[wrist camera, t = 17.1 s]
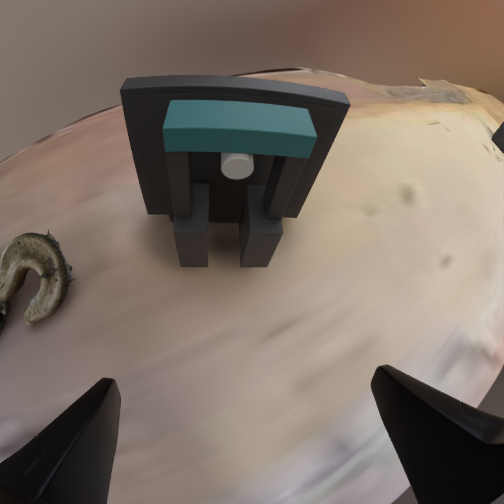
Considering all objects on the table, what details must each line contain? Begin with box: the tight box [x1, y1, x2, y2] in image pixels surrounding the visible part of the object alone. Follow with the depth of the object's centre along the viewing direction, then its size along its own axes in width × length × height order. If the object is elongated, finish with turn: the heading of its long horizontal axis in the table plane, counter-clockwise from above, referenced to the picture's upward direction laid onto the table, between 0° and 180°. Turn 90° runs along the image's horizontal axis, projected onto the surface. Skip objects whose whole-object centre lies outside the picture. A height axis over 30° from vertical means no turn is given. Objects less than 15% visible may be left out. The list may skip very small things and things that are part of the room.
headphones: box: [162, 100, 317, 267], centre depth 18 cm, size 4×7×13 cm, turn 94°
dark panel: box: [120, 75, 350, 223], centre depth 21 cm, size 13×14×14 cm
